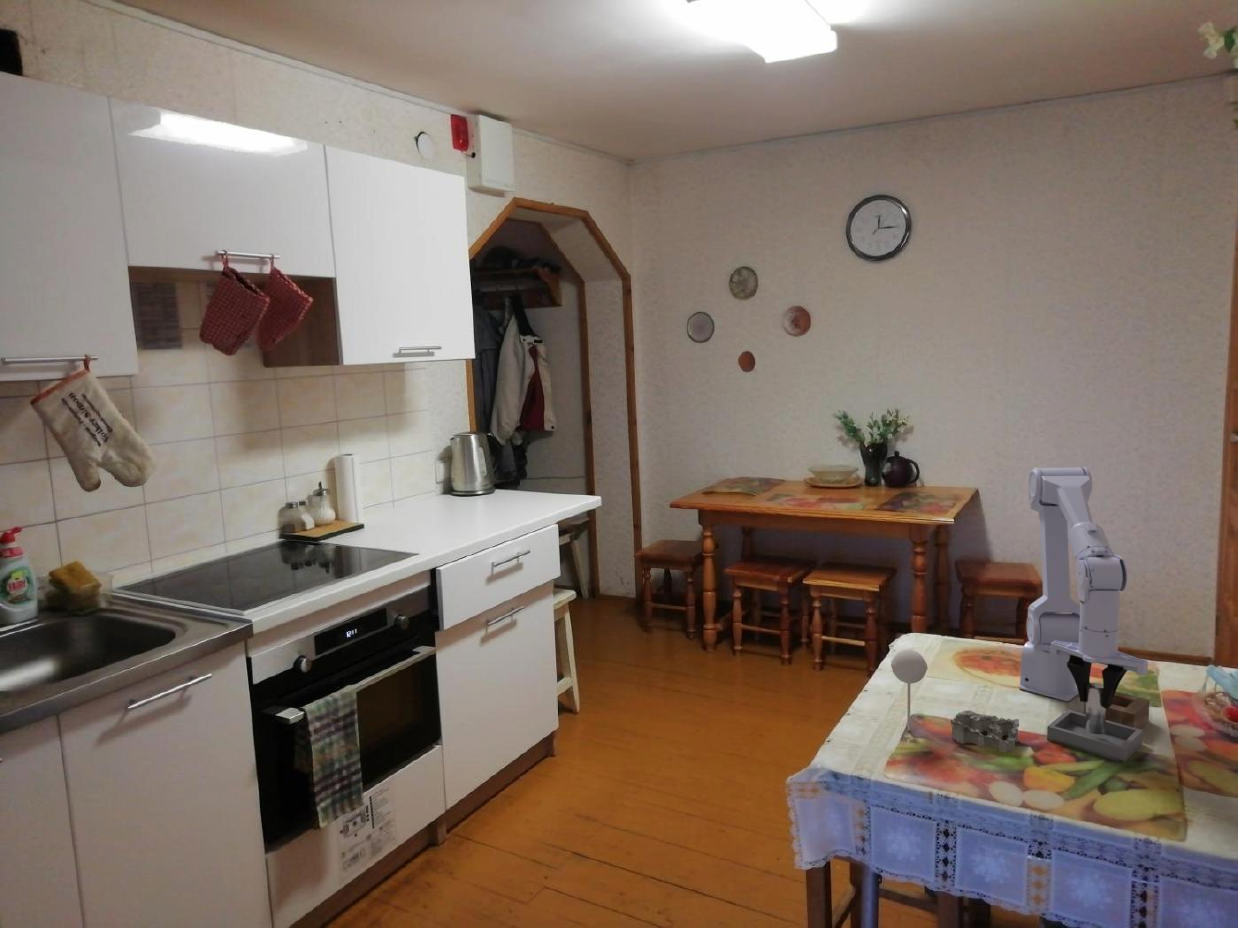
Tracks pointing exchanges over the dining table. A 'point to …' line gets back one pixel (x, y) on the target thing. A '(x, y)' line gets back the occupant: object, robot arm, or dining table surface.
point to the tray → (1095, 737)
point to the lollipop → (909, 671)
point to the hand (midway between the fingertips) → (1095, 703)
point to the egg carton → (972, 724)
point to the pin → (1095, 709)
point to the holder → (1127, 710)
